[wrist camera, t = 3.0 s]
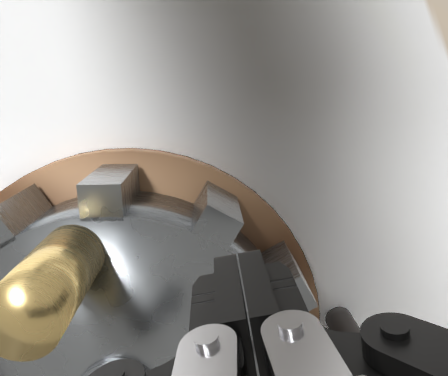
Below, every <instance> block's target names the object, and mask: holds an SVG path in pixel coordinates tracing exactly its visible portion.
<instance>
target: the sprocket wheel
mask: <svg viewBox="0 0 448 376" xmlns="http://www.w3.org/2000/svg"><path fill="white" fill-rule="evenodd" d="M76 189H77V197H76V198H73V199H70V200H66V201H63V202H61V203H59V204H57V205H54V206H52V205H51V204H50V202H49V201H48V200H47V199H46V197H45V196H44V195H43V193H42V192H41V191H40V189H39V188H38V187H37V185H36V184H35V183H34V184H33V185H31V186H29V187H27V188H26V189H24V190H22V191H21V192H19V193H17V194H16V195H14V196H12V197H10V198H9V199H7V200H5V201H4V202H2V203H0V376H88V375H90V374H91V373H92V372H93V371H95V370H96V369H97V368H99V367H101V366H102V365H104V364H106V363H109V362H111V361H114V360H118V359H134V360H137V361H139V362H140V363H141V364H142V365H143V367H144V369H145V372H146V371H148V370H150V369H153V368H155V367H158V366H160V365H162V364H164V363H166V362H168V361H170V360H171V359H173V358H174V357H176V353H177V348H178V345H179V342H180V341H181V339H182V338H183V337H184V336H185V335H186V334H187V333H188V332H189V322H190V309H191V297H192V285H193V284H194V283H195V281H196V280H197V279H198V277H199V276H202V275H207V274H213V273H214V258H215V257H221V256H226V255H232V254H236V257H237V263H238V268H239V274H240V279H241V284H242V290H243V295H244V301H245V306H246V312H247V318H248V324H249V330H250V336H251V341H252V347H253V353H254V359H255V365H256V371H257V376H260V375H259V370H258V364H257V359H256V353H255V348H254V342H253V337H252V331H251V326H250V321H249V315H248V309H247V303H246V298H245V292H244V286H243V280H242V275H241V269H240V263H239V258H238V253H243V252H248V251H254V250H258V249H257V248H256V247H255V246H254V245H253V243H252V242H251V241H250V240H249V239H248V238H247V237H246V236H245V235H243V234H242V233H241V232H240V230H241V228H242V226H243V225H244V222H243V218H242V214H241V210H240V206H239V202H238V198H237V196H235V195H234V194H232V193H230V192H228V191H226V190H224V189H222V188H221V187H219V186H217V185H215V184H213V183H211V182H209V181H208V180H207V182H206V184H205V185H204V187H203V189H202V191H201V192H200V194H199V196H198V198H197V199H196V201H195V203H191V202H188V201H185V200H182V199H179V198H176V197H173V196H168V195H163V194H159V193H154V192H144V191H140V184H139V169H138V164H102V165H101V166H100V167H98V168H97V169H96V170H94V171H93V172H92V173H91V174H89V175H88V176H87V177H86V178H84V179H83V180H82V181H80V182H79V183H78V184H77V185H76ZM261 254H262V258H263V261H264V264H268V263H273V262H281V263H282V264H284V265H286V266H287V267H289V268H290V271H291V273H292V275H293V278H294V280H295V282H296V284H297V286H298V289H299V291H300V293H301V295H302V298H303V300H304V302H305V304H306V307H307V309H308V311H311V310H312V309H314V308H316V307H318V304H317V302H316V300H315V298H314V296H313V294H312V292H311V290H310V288H309V286H308V284H307V282H306V280H305V278H304V276H303V274H302V272H301V270H300V268H299V265H298V264H297V262H296V260H295V259H294V257H293V255H292V254H291V252H290V250H289V248H288V247H287V245H286V243H285V242H284V240H283V241H281V242H280V243H278V244H276V245H274V246H272V247H271V248H269V249H267V250H265V251H263V252H261Z"/></svg>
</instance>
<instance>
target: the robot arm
mask: <svg viewBox="0 0 448 376" xmlns="http://www.w3.org/2000/svg"><path fill="white" fill-rule="evenodd" d="M238 258H239V263H240V269H241V275H242V280H243V286H244V292H245V298H246V303H247V309H248V315H249V321H250V326H251V331H252V337H253V342H254V348H255V353H256V359H257V364H258V370H259V375H260V376H448V329H446V328H443V327H440V326H437V325H435V324H432V323H429V322H426V321H423V320H420V319H417V318H414V317H412V316H408V315H405V314H400V313H380V314H376V315H373V316H371V317H369V318H367V319H366V320H365V321H364V322H363V323H362V325H361V328H360V333H356V332H340V331H334V330H330V329H327V328H325V327H323V326H322V324H321V323H320V321H319V320H318V318H316V317H315V316H314V315H312V314H311V313H309V311H308V309H307V307H306V304H305V302H304V300H303V298H302V295H301V293H300V291H299V289H298V286H297V284H296V282H295V280H294V278H293V275H292V273H291V271H290V268H289V267H287V266H286V265H284V264H282V263H281V262H273V263H268V264H264V261H263V258H262V254H261V251H260V249H259V250H254V251H248V252H243V253H238ZM88 376H257V371H256V365H255V359H254V353H253V347H252V341H251V336H250V330H249V324H248V318H247V312H246V306H245V301H244V295H243V290H242V284H241V279H240V274H239V268H238V263H237V257H236V254H232V255H226V256H221V257H215V258H214V273H213V274H207V275H202V276H199V277H198V279H197V280H196V281H195V283H194V284H193V285H192V297H191V309H190V322H189V332H188V333H187V334H186V335H185V336H184V337H183V338H182V339H181V341H180V342H179V345H178V348H177V353H176V357H174V358H173V359H171V360H170V361H168V362H166V363H164V364H162V365H160V366H158V367H155V368H153V369H150V370H148V371H146V372H145V369H144V367H143V365H142V364H141V363H140V362H139V361H137V360H134V359H118V360H114V361H111V362H109V363H106V364H104V365H102V366H101V367H99V368H97V369H96V370H95V371H93V372H92V373H91V374H90V375H88Z"/></svg>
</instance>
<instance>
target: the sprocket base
mask: <svg viewBox="0 0 448 376" xmlns="http://www.w3.org/2000/svg"><path fill="white" fill-rule="evenodd" d="M102 164H138V169H139V184H140V191H144V192H154V193H159V194H163V195H168V196H173V197H176V198H179V199H182V200H185V201H188V202H191V203H195V201H196V199H197V198H198V196H199V194H200V192H201V191H202V189H203V187H204V185H205V184H206V182H207V180H208V181H209V182H211V183H213V184H215V185H217V186H219V187H221V188H222V189H224V190H226V191H228V192H230V193H232V194H234V195H235V196H237V198H238V202H239V206H240V210H241V214H242V218H243V222H244V225H243V226H242V228H241V230H240V232H241V233H242V234H243V235H245V236H246V237H247V238H248V239H249V240H250V241H251V242H252V243H253V245H254V246H255V247H256V248H257V249H258V250H259V249H260V251H261V252H263V251H265V250H267V249H269V248H271V247H272V246H274V245H276V244H278V243H280V242H281V241H283V240H284V242H285V243H286V245H287V247H288V248H289V250H290V252H291V254H292V255H293V257H294V259H295V260H296V262H297V264H298V265H299V268H300V270H301V272H302V274H303V276H304V278H305V280H306V282H307V284H308V286H309V288H310V290H311V292H312V294H313V296H314V298H315V300H316V302H317V304H318V295H317V291H316V287H315V283H314V279H313V275H312V272H311V270H310V267H309V265H308V263H307V260H306V258H305V256H304V253H303V251H302V249H301V248H300V246H299V244H298V242H297V241H296V239H295V238H294V236H293V234H292V233H291V231H290V229H289V228H288V226H287V225H286V224H285V222H284V221H283V220H282V219H281V218H280V216H279V215H278V214H277V213H276V211H275V210H274V209H273V208H272V207H271V206H270V205H269V204H268V203H267V202H266V201H265V200H263V199H262V198H261V197H260V196H259V195H258V194H257V193H256V192H255V191H253V190H252V189H250V188H249V187H248V186H246V185H245V184H243V183H242V182H240V181H239V180H238V179H236V178H235V177H233V176H231V175H229V174H227V173H225V172H223V171H221V170H219V169H217V168H215V167H214V166H212V165H209V164H206V163H203V162H201V161H198V160H195V159H192V158H190V157H187V156H183V155H178V154H174V153H169V152H165V151H160V150H150V149H139V148H120V149H104V150H98V151H92V152H85V153H80V154H77V155H73V156H70V157H67V158H64V159H60V160H57V161H54V162H52V163H50V164H48V165H46V166H44V167H42V168H39V169H37V170H35V171H33V172H31V173H29V174H27V175H25V176H23V177H22V178H20V179H19V180H17V181H16V182H14V183H13V184H11V185H9V186H8V187H6V188H5V189H3V190H2V191H1V192H0V203H2V202H4V201H5V200H7V199H9V198H10V197H12V196H14V195H16V194H17V193H19V192H21V191H22V190H24V189H26V188H27V187H29V186H31V185H33V184H34V183H35V184H36V185H37V187H38V188H39V189H40V191H41V192H42V193H43V195H44V196H45V197H46V199H47V200H48V201H49V202H50V204H51V205H52V206H54V205H57V204H59V203H61V202H63V201H66V200H70V199H73V198H76V197H77V189H76V185H77V184H78V183H79V182H80V181H82V180H83V179H84V178H86V177H87V176H88V175H89V174H91V173H92V172H93V171H94V170H96V169H97V168H98V167H100V166H101V165H102ZM309 313H311V314H312V315H314V316H315V317H316V318H318V320H319V316H320V315H319V305H318V307H316V308H314V309H312V310H311V311H309ZM326 323H327V325H328V327H329V329H330V330H334V331H340V332H356V333H360V328H359V327H358V325H357V324H356V322H355V320H354V319H353V317H352V315H351V314H350V312H349V311H348V310H347V309H346V308H343V307H336V308H333V309H331V310H330V311H329V312H328V313H327V315H326Z"/></svg>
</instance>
